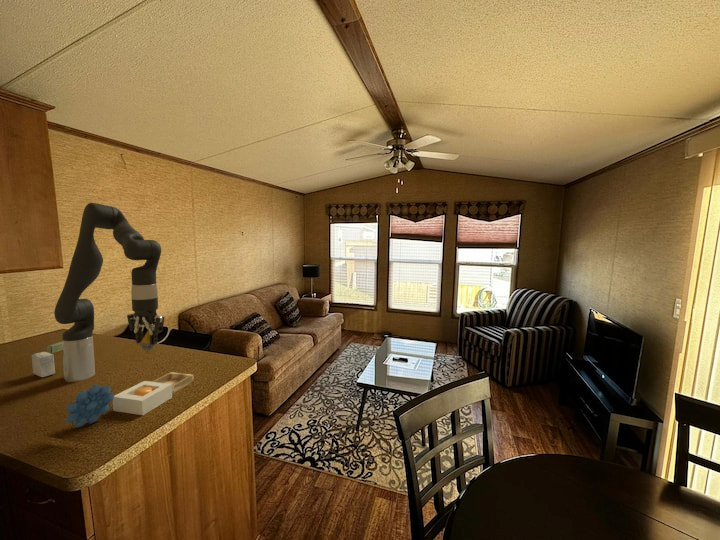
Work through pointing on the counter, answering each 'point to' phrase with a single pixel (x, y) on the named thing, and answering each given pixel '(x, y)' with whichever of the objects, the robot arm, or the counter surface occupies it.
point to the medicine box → (43, 364)
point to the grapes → (89, 405)
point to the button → (143, 391)
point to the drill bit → (146, 342)
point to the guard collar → (142, 398)
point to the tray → (176, 380)
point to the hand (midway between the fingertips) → (146, 343)
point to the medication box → (55, 347)
